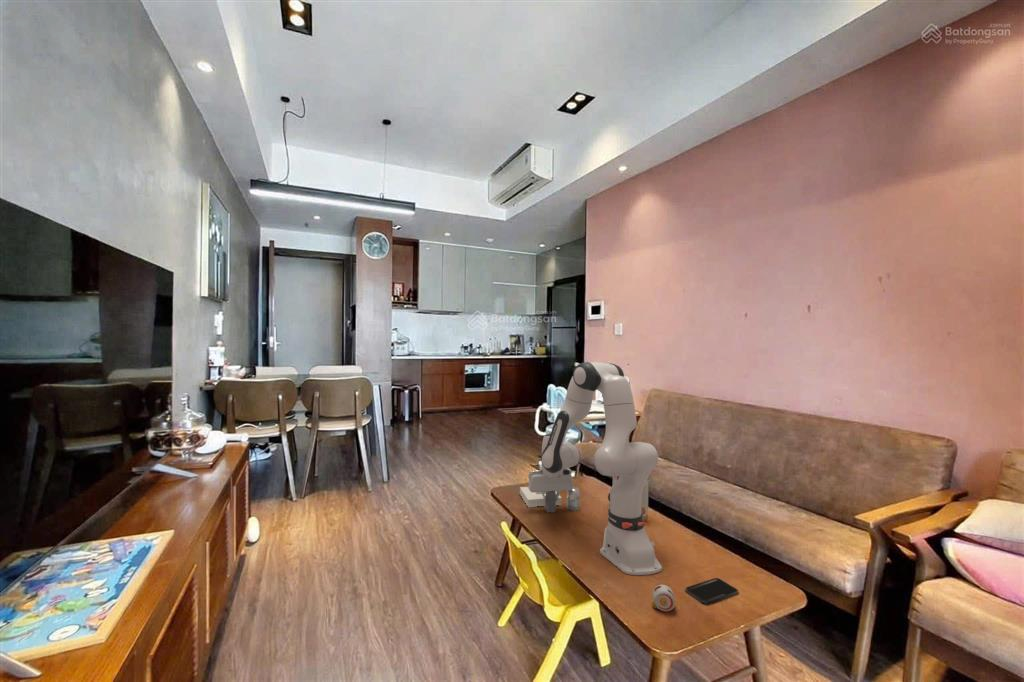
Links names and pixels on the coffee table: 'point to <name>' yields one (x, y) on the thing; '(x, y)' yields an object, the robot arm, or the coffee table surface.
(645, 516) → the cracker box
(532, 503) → the socket block
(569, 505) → the round peg
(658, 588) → the roller toy
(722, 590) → the phone
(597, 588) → the coffee table surface
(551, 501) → the square peg
